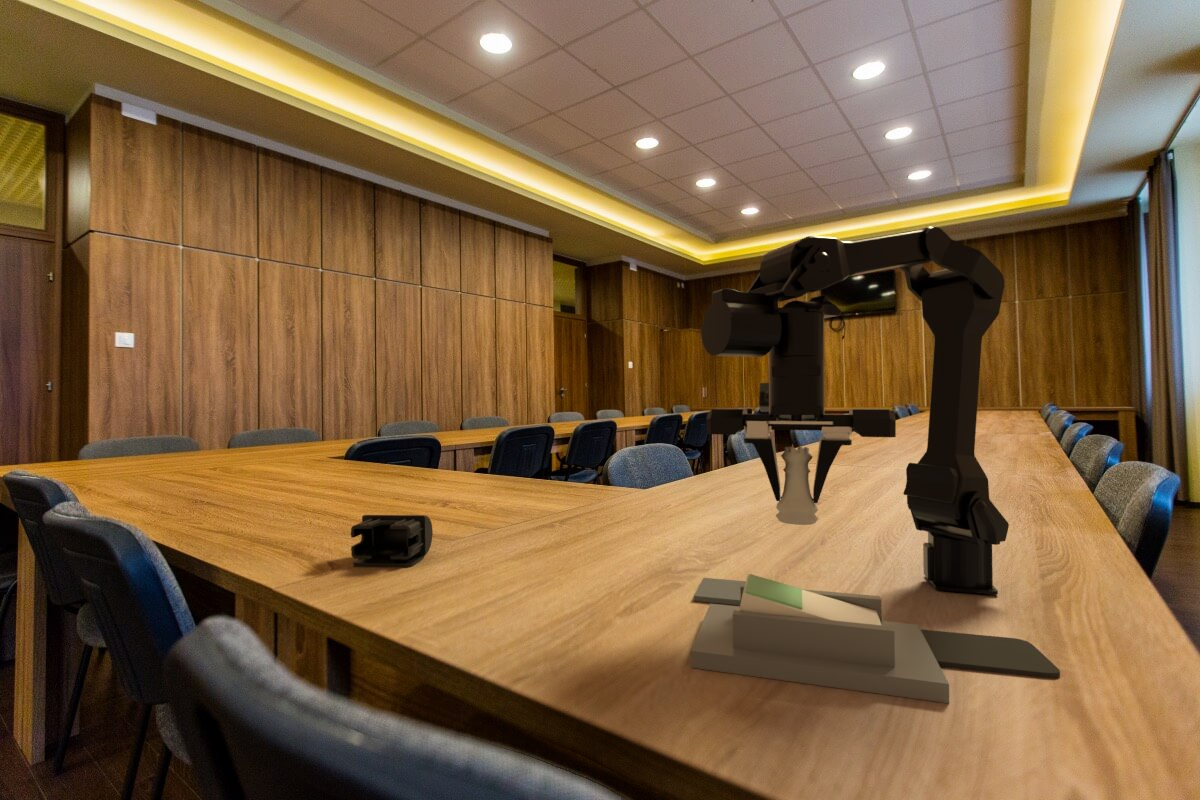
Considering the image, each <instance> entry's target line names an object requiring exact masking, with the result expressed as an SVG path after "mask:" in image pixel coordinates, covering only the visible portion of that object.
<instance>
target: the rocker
mask: <svg viewBox="0 0 1200 800" xmlns="http://www.w3.org/2000/svg"><path fill="white" fill-rule="evenodd" d="M745 581H746V583H745V587H744V591H743V594H742V599H741V604H740V605H739V607H740V610H743V611H747V612H756V613H766V614H776V615H785V616H795V617H805V618H814V619H824V620H834V621H843V622H853V623H863V624H873V625H881V622H880V619H879V617H878V614H877V611H875V610H871V609H868V608H864V607H861V606H857V605H854V604H850V603H847V602H843V601H840V600H837V599H833V598H830V597H826V596H823V595H819V594H816V593H812V592H809V591H805V590H806V589H805V590H802V589H803V588H800V587H797V586H793V585H791V584H790V585H789V584H786V583H784V582H779V581H776V580H773V579H769V578H766V577H763V576H758V575H754V574H752V573H748V574H747V576H746V580H745Z"/></svg>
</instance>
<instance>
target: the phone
mask: <svg viewBox="0 0 1200 800" xmlns="http://www.w3.org/2000/svg"><path fill="white" fill-rule="evenodd" d="M920 630H921V632H922V634H923V636H924V637H925V639H926V641H927V643H928V645H929V647H930V649H931V651H932V653H933V655H934V656H935V658H936V660H937V662H938V664H939V666H940V668H944V669H954V670H955V669H956V670H963V671H974V672H984V673H992V674H1003V675H1013V676H1021V677H1022V676H1023V677H1030V678H1040V679H1059V678H1060V677H1061V671H1060V669H1059V668H1058V667H1057V666H1056V665H1055V664H1054V663H1053V662H1052V661H1051V660H1050V659H1048V658H1047V656H1045V655H1044V653H1042V652H1041V650H1039V649H1038V648H1037V647H1036V646H1035V645H1033V644H1032V643H1031V642H1030V641H1027V640H1024V639H1020V638H1015V637H1006V636H995V635H993V636H992V635H985V634H983V635H982V634H976V633H975V634H974V633H964V632H963V633H962V632H952V631H941V630H934V629H933V630H930V629H922V628H920Z"/></svg>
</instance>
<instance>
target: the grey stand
mask: <svg viewBox="0 0 1200 800" xmlns="http://www.w3.org/2000/svg"><path fill="white" fill-rule="evenodd" d="M744 587H745V584H741V587H740V590H741V599H742V594H743V591H744ZM801 589H802V590H805V591H809V592H812V593H816V594H819V595H823V596H826V597H830V598H833V599H837V600H840V601H843V602H847V603H850V604H854V605H857V606H861V607H864V608H868V609H871V610H875V611H877V614H878V617H879V619H880V622H881V625H873V624H863V623H853V622H843V621H834V620H824V619H814V618H805V617H795V616H785V615H776V614H766V613H756V612H747V611H743V610H740V605H730V604H720V603H709V605H708V608H707V611H706V612H705V615H704V617H703V620H702V623H701V624H700V627H699V630H698V632H697V635H696V637H695V639H694V642H693V644H692V647H691V649H690V668H691V669H692V668H693V669H699V670H707V671H714V672H719V673H728V674H736V675H741V676H742V675H743V676H749V677H756V678H764V679H770V680H777V681H787V682H791V683H799V684H800V683H801V684H807V685H814V686H815V685H816V686H821V687H827V688H835V689H837V688H838V689H842V690H851V691H857V692H863V693H864V692H865V693H872V694H878V695H879V694H880V695H885V696H893V697H900V698H908V699H914V700H915V699H916V700H921V701H930V702H935V703H945V704H950V683H949V681H948V680H947V678H946V676H945V673H944V672H943V670H942V667H940V666H939V664H938V662H937V660H936V658H935V656H934V655H933V653H932V651H931V649H930V647H929V645H928V643H927V641H926V639H925V637H924V636H923V634H922V632H921V630H920V629H921V628H920V627H919V624H914V623H906V622H897V621H886V620H882V619H883V618H882V615H883V614H882V611H883V610H882V598H881V596H880V595H874V594H873V595H872V594H871V595H870V594H862V593H859V594H858V593H850V592H849V593H848V592H837V591H826V590H825V591H823V590H815V589H814V590H813V589H805V588H804V589H803V588H801Z"/></svg>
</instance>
